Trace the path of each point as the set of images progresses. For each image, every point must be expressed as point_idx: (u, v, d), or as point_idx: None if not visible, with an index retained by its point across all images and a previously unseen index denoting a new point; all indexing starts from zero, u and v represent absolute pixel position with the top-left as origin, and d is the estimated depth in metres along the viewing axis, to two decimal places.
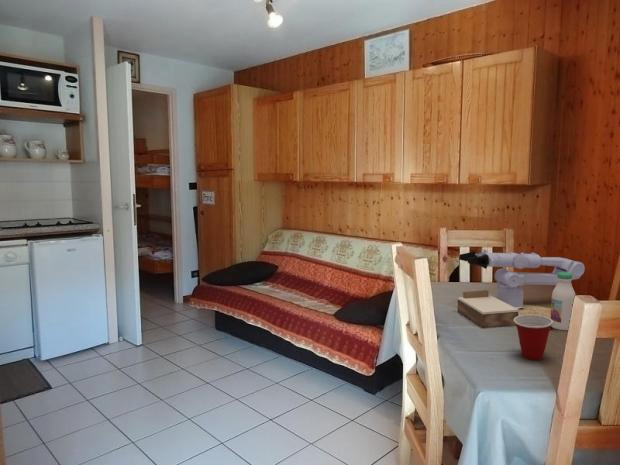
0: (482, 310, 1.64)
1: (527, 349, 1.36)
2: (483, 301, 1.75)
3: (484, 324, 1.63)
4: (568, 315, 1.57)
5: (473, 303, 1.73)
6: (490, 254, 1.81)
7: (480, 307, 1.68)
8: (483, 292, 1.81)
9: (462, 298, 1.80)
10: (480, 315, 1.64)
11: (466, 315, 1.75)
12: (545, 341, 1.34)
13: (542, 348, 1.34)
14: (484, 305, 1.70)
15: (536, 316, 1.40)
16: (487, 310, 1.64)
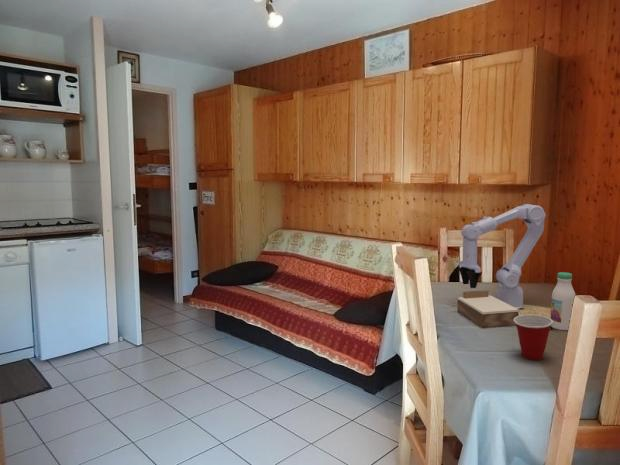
0: (482, 310, 1.64)
1: (526, 349, 1.36)
2: (483, 301, 1.75)
3: (484, 324, 1.63)
4: (568, 315, 1.57)
5: (473, 303, 1.73)
6: (466, 262, 1.83)
7: (480, 307, 1.68)
8: (483, 292, 1.81)
9: (462, 298, 1.80)
10: (480, 315, 1.64)
11: (466, 315, 1.75)
12: (545, 341, 1.34)
13: (542, 348, 1.34)
14: (484, 305, 1.70)
15: (536, 316, 1.40)
16: (487, 310, 1.64)
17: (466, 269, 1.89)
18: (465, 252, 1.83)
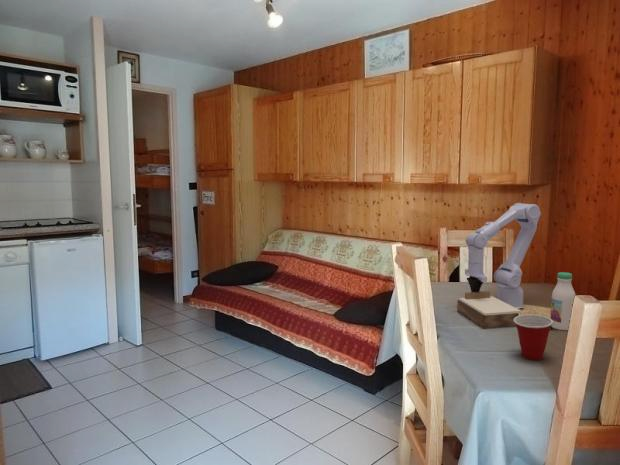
0: (484, 311, 1.63)
1: (526, 349, 1.36)
2: (484, 302, 1.74)
3: (484, 324, 1.63)
4: (568, 315, 1.57)
5: (475, 304, 1.72)
6: (471, 271, 1.79)
7: (482, 308, 1.67)
8: (485, 293, 1.79)
9: (464, 299, 1.79)
10: (480, 315, 1.64)
11: (466, 315, 1.75)
12: (545, 341, 1.34)
13: (542, 348, 1.34)
14: (486, 306, 1.69)
15: (536, 316, 1.40)
16: (489, 311, 1.63)
17: None
18: (473, 261, 1.78)
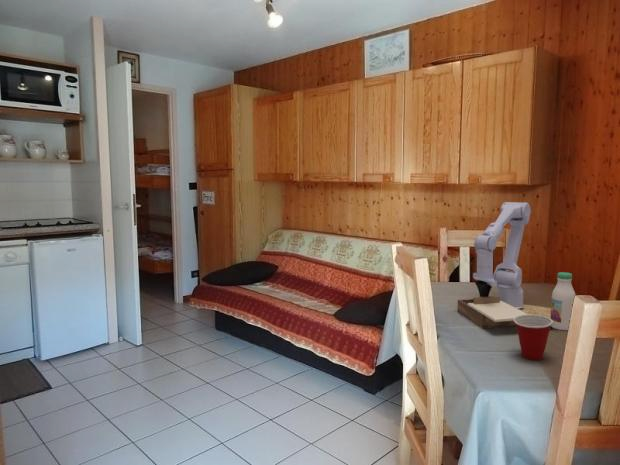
0: (494, 317, 1.56)
1: (527, 349, 1.36)
2: (494, 308, 1.67)
3: (484, 324, 1.63)
4: (568, 315, 1.57)
5: (484, 309, 1.65)
6: (480, 275, 1.72)
7: (492, 314, 1.60)
8: (494, 298, 1.73)
9: (472, 304, 1.72)
10: (480, 315, 1.64)
11: (466, 315, 1.75)
12: (545, 341, 1.34)
13: (542, 348, 1.34)
14: (496, 312, 1.62)
15: (536, 316, 1.40)
16: (500, 317, 1.56)
17: None
18: (485, 265, 1.70)
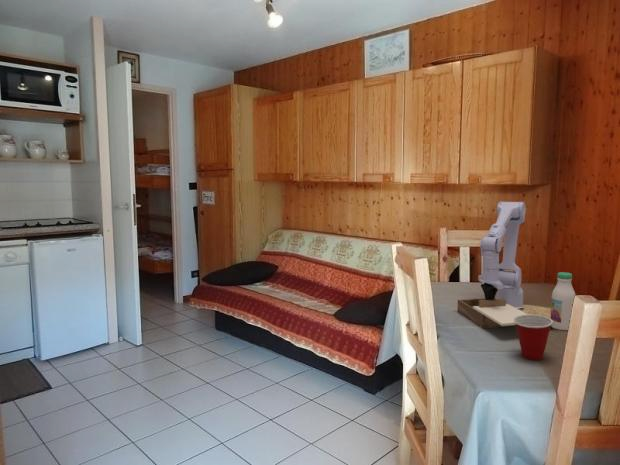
0: (501, 321, 1.52)
1: (527, 349, 1.36)
2: (500, 311, 1.62)
3: (484, 324, 1.63)
4: (568, 315, 1.57)
5: (491, 313, 1.61)
6: (486, 277, 1.68)
7: (498, 318, 1.56)
8: (500, 301, 1.68)
9: (478, 307, 1.68)
10: (480, 315, 1.64)
11: (466, 315, 1.75)
12: (545, 341, 1.34)
13: (542, 348, 1.34)
14: (502, 315, 1.58)
15: (536, 316, 1.40)
16: (506, 321, 1.52)
17: None
18: (493, 267, 1.66)
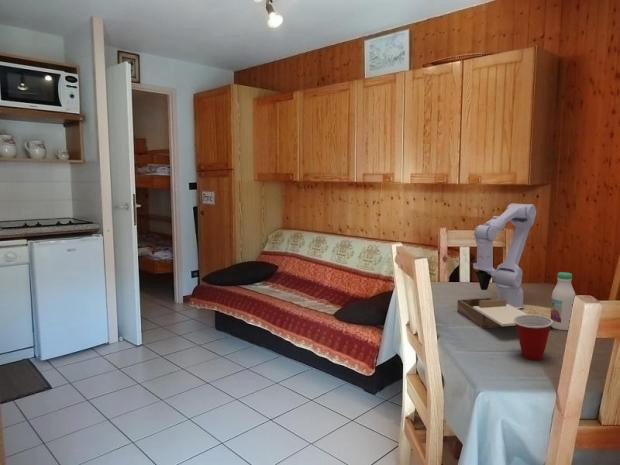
0: (501, 321, 1.52)
1: (527, 349, 1.36)
2: (501, 311, 1.62)
3: (484, 324, 1.63)
4: (568, 315, 1.57)
5: (491, 313, 1.61)
6: (480, 264, 1.73)
7: (499, 318, 1.55)
8: (501, 301, 1.68)
9: (478, 307, 1.68)
10: (480, 315, 1.64)
11: (466, 315, 1.75)
12: (545, 341, 1.34)
13: (542, 348, 1.34)
14: (503, 316, 1.58)
15: (536, 316, 1.40)
16: (507, 321, 1.52)
17: None
18: (485, 254, 1.72)
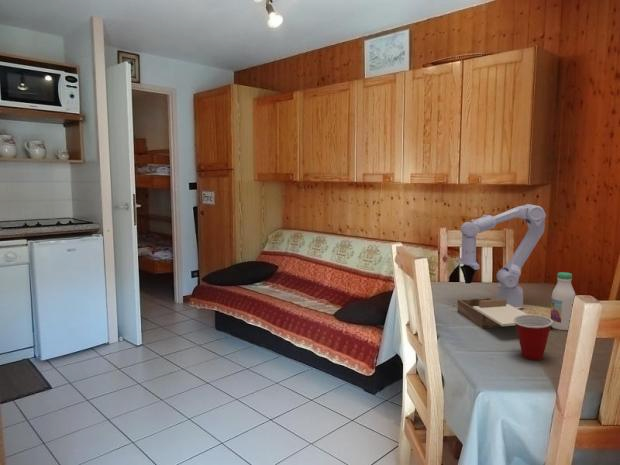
0: (501, 321, 1.52)
1: (526, 349, 1.36)
2: (501, 311, 1.62)
3: (484, 324, 1.63)
4: (568, 315, 1.57)
5: (491, 313, 1.61)
6: (464, 259, 1.84)
7: (499, 318, 1.55)
8: (501, 301, 1.68)
9: (478, 307, 1.68)
10: (480, 315, 1.64)
11: (466, 315, 1.75)
12: (545, 341, 1.34)
13: (542, 348, 1.34)
14: (503, 316, 1.58)
15: (536, 316, 1.40)
16: (507, 321, 1.52)
17: None
18: (464, 249, 1.84)
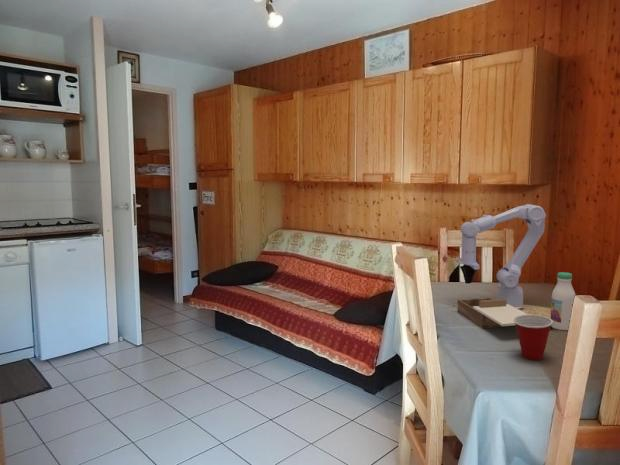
0: (501, 321, 1.52)
1: (527, 349, 1.36)
2: (501, 311, 1.62)
3: (484, 324, 1.63)
4: (568, 315, 1.57)
5: (491, 313, 1.61)
6: (464, 259, 1.84)
7: (499, 318, 1.55)
8: (501, 301, 1.68)
9: (478, 307, 1.68)
10: (480, 315, 1.64)
11: (466, 315, 1.75)
12: (545, 341, 1.34)
13: (542, 348, 1.34)
14: (503, 316, 1.58)
15: (536, 316, 1.40)
16: (507, 321, 1.52)
17: None
18: (464, 249, 1.84)
